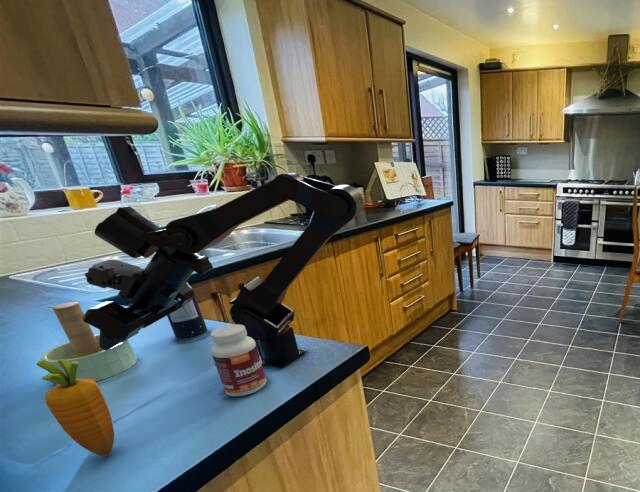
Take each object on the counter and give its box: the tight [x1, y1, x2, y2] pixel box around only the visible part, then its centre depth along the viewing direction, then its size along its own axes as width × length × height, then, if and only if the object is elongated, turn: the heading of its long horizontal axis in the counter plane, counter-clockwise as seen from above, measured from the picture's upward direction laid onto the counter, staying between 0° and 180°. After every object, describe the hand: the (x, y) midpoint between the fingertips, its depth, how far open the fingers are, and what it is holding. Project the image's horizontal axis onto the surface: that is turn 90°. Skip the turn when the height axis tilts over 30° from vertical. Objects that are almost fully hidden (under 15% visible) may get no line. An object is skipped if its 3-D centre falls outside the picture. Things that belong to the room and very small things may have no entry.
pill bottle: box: [210, 323, 267, 397], centre depth 67 cm, size 6×6×11 cm
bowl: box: [40, 334, 138, 386], centre depth 74 cm, size 11×11×6 cm
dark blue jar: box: [166, 281, 208, 341], centre depth 86 cm, size 6×6×12 cm
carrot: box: [36, 359, 115, 457], centre depth 51 cm, size 5×5×15 cm
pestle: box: [51, 301, 103, 358], centre depth 72 cm, size 5×5×13 cm
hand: (123, 336), depth 73 cm, fingers open, 9 cm apart
